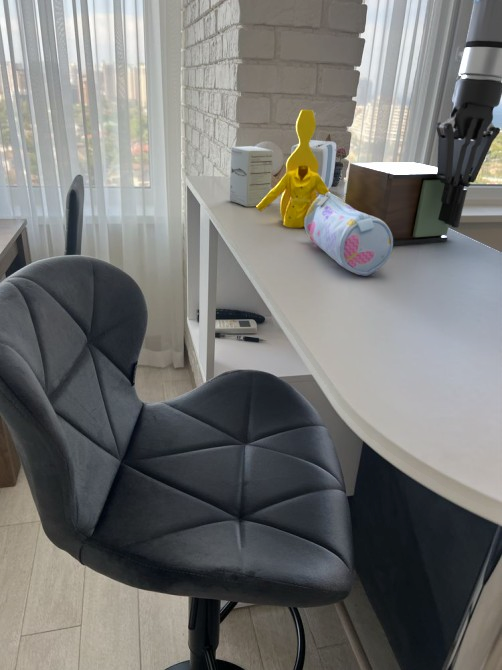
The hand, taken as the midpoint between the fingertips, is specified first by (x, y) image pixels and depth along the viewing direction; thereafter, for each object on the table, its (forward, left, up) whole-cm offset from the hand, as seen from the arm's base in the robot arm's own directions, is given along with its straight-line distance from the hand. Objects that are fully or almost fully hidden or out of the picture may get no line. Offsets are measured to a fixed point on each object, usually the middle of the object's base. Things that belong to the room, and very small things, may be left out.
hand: (445, 221), depth 94 cm
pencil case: (+19, +12, -5) cm, 24 cm away
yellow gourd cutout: (+24, -42, -5) cm, 49 cm away
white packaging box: (+39, -27, -5) cm, 48 cm away
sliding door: (+1, -2, -4) cm, 4 cm away
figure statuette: (+27, -9, -5) cm, 29 cm away
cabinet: (+8, -7, -5) cm, 12 cm away
